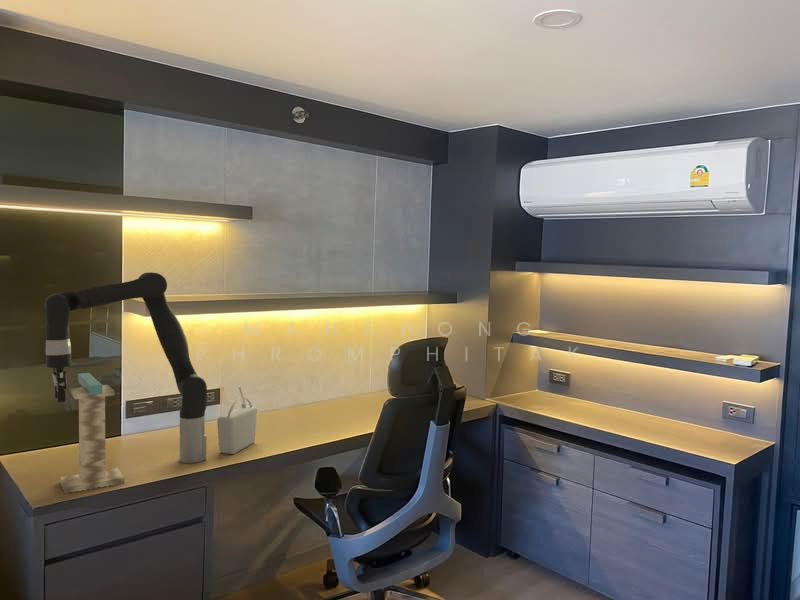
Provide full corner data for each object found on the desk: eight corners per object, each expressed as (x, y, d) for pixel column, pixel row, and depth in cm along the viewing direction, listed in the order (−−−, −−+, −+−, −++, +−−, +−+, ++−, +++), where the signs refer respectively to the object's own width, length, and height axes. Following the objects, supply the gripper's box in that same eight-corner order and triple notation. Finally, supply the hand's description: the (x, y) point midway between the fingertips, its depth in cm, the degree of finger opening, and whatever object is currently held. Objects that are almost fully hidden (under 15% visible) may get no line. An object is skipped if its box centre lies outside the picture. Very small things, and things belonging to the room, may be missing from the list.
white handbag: (240, 439, 261) (241, 383, 260) (258, 441, 259) (258, 384, 258) (212, 454, 240) (213, 392, 239) (231, 456, 238) (231, 394, 237)
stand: (117, 473, 217) (116, 384, 215) (124, 483, 207) (124, 390, 205) (60, 482, 206) (59, 389, 204) (65, 493, 196) (64, 395, 195)
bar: (89, 381, 220) (88, 372, 219) (102, 393, 199) (102, 384, 198) (78, 381, 217) (78, 373, 217) (90, 395, 197) (90, 385, 196)
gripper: (73, 354, 200) (75, 402, 201) (68, 349, 212) (70, 394, 213) (47, 356, 196) (49, 405, 197) (44, 351, 208) (45, 397, 208)
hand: (60, 399), depth 205 cm, fingers open, 8 cm apart
